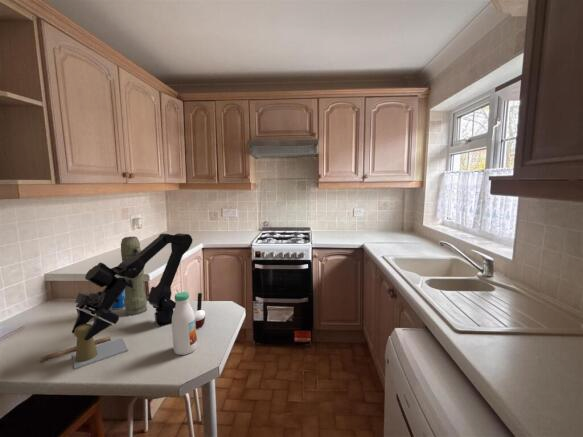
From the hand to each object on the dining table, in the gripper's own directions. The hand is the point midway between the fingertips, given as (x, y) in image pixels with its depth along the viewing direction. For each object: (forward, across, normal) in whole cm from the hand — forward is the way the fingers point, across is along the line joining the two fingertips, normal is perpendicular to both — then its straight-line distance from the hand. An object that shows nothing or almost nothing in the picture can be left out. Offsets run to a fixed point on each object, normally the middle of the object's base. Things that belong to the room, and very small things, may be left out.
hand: (79, 336), depth 93 cm
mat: (+2, +1, +10) cm, 10 cm away
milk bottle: (-9, +26, +21) cm, 34 cm away
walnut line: (+4, -9, +8) cm, 13 cm away
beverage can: (-15, -34, +27) cm, 46 cm away
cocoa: (-19, +15, +31) cm, 39 cm away
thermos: (-16, -22, +28) cm, 39 cm away
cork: (+5, 0, +7) cm, 8 cm away
